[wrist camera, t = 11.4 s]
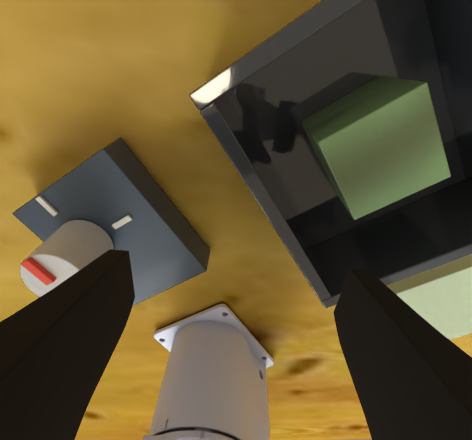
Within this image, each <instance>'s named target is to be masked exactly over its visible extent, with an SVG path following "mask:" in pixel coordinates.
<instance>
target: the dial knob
mask: <svg viewBox="0 0 472 440" xmlns="http://www.w3.org/2000/svg"><path fill="white" fill-rule="evenodd" d="M110 249H113V250H114V246H113V242H112V240H111V238H110V236H109V235H108V234H107V233H106V231H104V230H103V229H102V228H101V227H99V226H98V225H96V224H94V223H92V222H89V221H85V220H72V221H69V222H66V223H64V224H63V225H62V226H61V227H60V228H59V229H58V230H56V231H55V232H54V233H53V234H52V235H51V236H50V237H49V238H48V239H47V240H45V241H44V242H43V243H42V244H41V245H40V246H39V247H38V248H37V249H36V250H35V251H33V252H32V253H31V254H30V255H29V256H28V257H27V258H26V259H25V260H24V261H23V262H22V263H21V267H20V274H21V278H22V280H23V282H24V283H25V285H26V286H27V287H28V288H29V289H30V290H31V291H32V292H33V293H35V294H36V295H38V296H40V297H41V296H43V295H44V294H46V293H47V292H49V291H50V290H52V289H53V288H55V287H56V286H58V285H59V284H61V283H62V282H64V281H65V280H66V279H68V278H69V277H71V276H72V275H74V274H75V273H77V272H78V271H79V270H81V269H82V268H84V267H85V266H86V265H88V264H89V263H91V262H92V261H93V260H95V259H96V258H98V257H99V256H101V255H102V254H104V253H105V252H107V251H108V250H110Z"/></svg>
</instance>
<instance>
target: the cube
mask: <svg viewBox="0 0 472 440" xmlns="http://www.w3.org/2000/svg"><path fill="white" fill-rule="evenodd" d="M301 125H302V127H303V129H304V131H305V133H306V135H307V137H308V139H309V141H310V143H311V145H312V147H313V149H314V152H315V154H316V156H317V158H318V160H319V162H320V164H321V166H322V168H323V170H324V172H325V174H326V176H327V179H328V181H329V183H330V185H331V186H332V188H333V189H334V191H335V192H336V194H337V195H338V197H339V198H340V200H341V201H342V203H343V204H344V206H345V207H346V209H347V210H348V212H349V213H350V215H351V216H352V218H353V219H354V220H356V219H358V218H360V217H363V216H365V215H367V214H369V213H371V212H374V211H376V210H378V209H380V208H382V207H385V206H387V205H389V204H391V203H393V202H396V201H398V200H400V199H402V198H405V197H407V196H409V195H411V194H413V193H416V192H418V191H420V190H422V189H424V188H427V187H429V186H431V185H433V184H436V183H438V182H440V181H442V180H444V179H447V178H449V177H451V174H450V170H449V166H448V162H447V158H446V154H445V151H444V147H443V143H442V139H441V135H440V131H439V127H438V123H437V119H436V115H435V111H434V107H433V103H432V99H431V95H430V91H429V88H428V84H427V82H422V81H415V80H408V79H400V78H393V77H385V76H377V77H376V78H374V79H372V80H371V81H369V82H367V83H366V84H364V85H362V86H360V87H359V88H357V89H355V90H354V91H352V92H350V93H349V94H347V95H345V96H343V97H342V98H340V99H338V100H337V101H335V102H333V103H332V104H330V105H328V106H326V107H325V108H323V109H321V110H320V111H318V112H316V113H315V114H313V115H311V116H309V117H308V118H306V119H304V120H303V121H301Z"/></svg>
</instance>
